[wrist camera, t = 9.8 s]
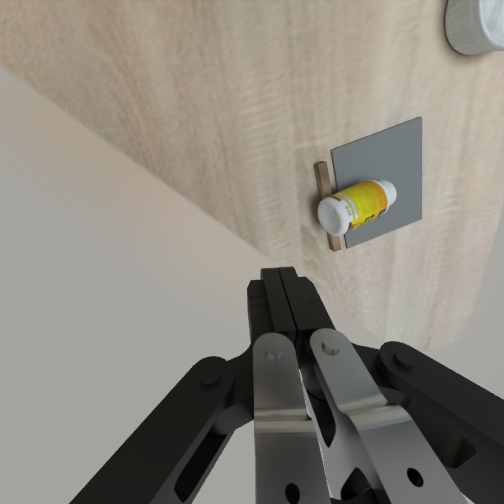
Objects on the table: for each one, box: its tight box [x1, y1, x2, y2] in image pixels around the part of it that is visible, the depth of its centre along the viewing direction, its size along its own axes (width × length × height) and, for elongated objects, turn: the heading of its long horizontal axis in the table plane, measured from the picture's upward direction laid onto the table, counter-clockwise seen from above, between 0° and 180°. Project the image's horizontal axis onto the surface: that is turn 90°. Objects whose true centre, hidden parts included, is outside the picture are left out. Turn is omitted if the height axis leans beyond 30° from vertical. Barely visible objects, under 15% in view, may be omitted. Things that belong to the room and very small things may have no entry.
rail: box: [314, 161, 341, 252], centre depth 35 cm, size 14×1×1 cm, turn 18°
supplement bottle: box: [318, 180, 397, 236], centre depth 33 cm, size 6×6×10 cm
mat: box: [331, 117, 422, 249], centre depth 36 cm, size 16×14×1 cm
